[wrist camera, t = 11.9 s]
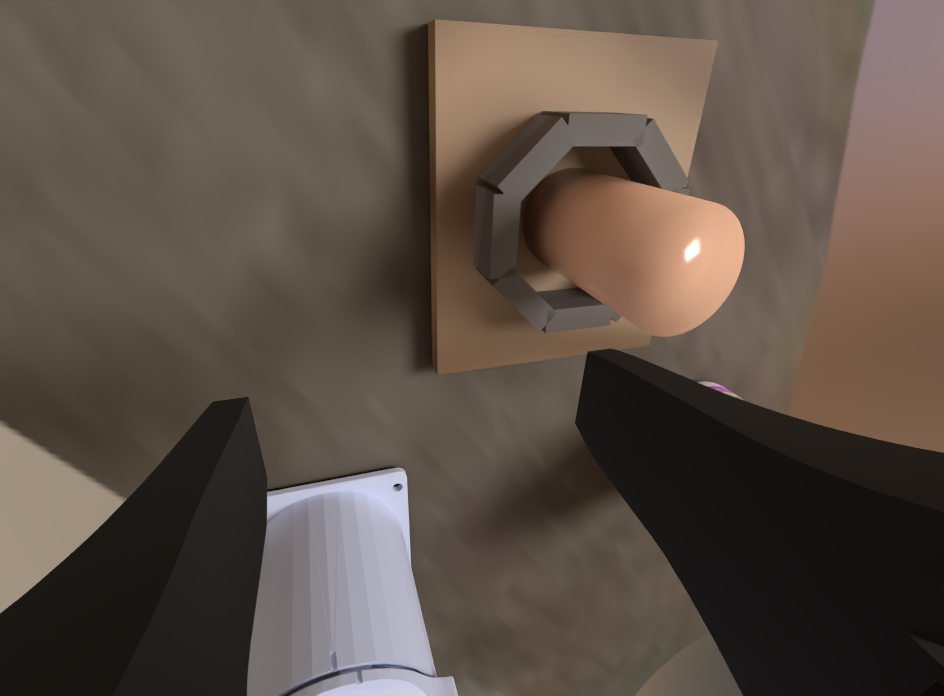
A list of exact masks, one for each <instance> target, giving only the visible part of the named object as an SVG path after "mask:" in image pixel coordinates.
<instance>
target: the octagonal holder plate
mask: <svg viewBox="0 0 944 696" xmlns="http://www.w3.org/2000/svg"><path fill="white" fill-rule="evenodd" d="M717 45H718V41H713V40H700V39H686V38H673V37H660V36H647V35H634V34H620V33H607V32H594V31H581V30H568V29H554V28H541V27H528V26H515V25H502V24H488V23H475V22H462V21H449V20H436V19H435V20H433V21H431V22H429V23H428V71H429V149H430V227H431V305H432V364H433V366H434V368H435V371H436V373H437V375H440V374H447V373H454V372H461V371H468V370H476V369H483V368H490V367H497V366H504V365H512V364H519V363H526V362H533V361H540V360H548V359H555V358H562V357H569V356H577V355H584V354H587V352H588V351H595V350H603V349H610V348H611V349H614V350H620V349H627V348H634V347H641V346H649V344H650V340H651V336H652V335H651V334H648V333H646V332H644V331H643V330H641V329H640V328H638V327H637V326H635V325H634V324H632V323H631V322H629V321H628V320H626V319H625V318H623V317H622V316H621V315H619V314H618V313H616V312H615V311H613V310H612V309H610V308H609V307H607V306H606V305H604V304H603V303H601V302H600V301H598V300H597V299H595V298H594V297H593V296H591V295H590V294H588V293H587V292H585V291H584V290H582V289H581V288H579V287H578V286H576V285H575V284H573V283H572V282H570V281H569V280H568V279H566V278H565V277H563V276H562V275H560V274H559V273H557V272H556V271H554V270H553V269H551V268H550V267H548V266H547V265H545V264H544V263H542V262H541V261H540V260H538V259H537V258H536V257H535V256H534V255H533V254H532V253H531V251H530V250H529V248H528V246H527V243H526V241H525V237H524V230H523V221H524V214H525V210H526V207H527V204H528V202H529V200H530V198H531V196H532V194H533V193H534V191H535V190H536V188H537V187H538V186H539V185H540V184H541V183H542V182H543V181H544V180H545V179H546V178H548V177H549V176H550V175H552V174H554V173H555V172H558V171H560V170H563V169H567V168H583V169H587V170H591V171H595V172H599V173H602V174H606V175H610V176H614V177H618V178H622V179H626V180H629V181H633V182H637V183H641V184H645V185H649V186H652V187H656V188H660V189H664V190H668V191H672V192H675V193H679V194H683V195H687V196H688V195H689V191H690V188H686V187H685V186H686V184H687V183H688V182H689V180H688V178H687V177H688V173H689V168H690V164H691V159H692V155H693V151H694V146H695V142H696V137H697V133H698V129H699V124H700V120H701V115H702V111H703V106H704V102H705V98H706V93H707V89H708V84H709V80H710V76H711V71H712V67H713V62H714V58H715V54H716V49H717Z"/></svg>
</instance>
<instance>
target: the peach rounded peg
mask: <svg viewBox="0 0 944 696" xmlns="http://www.w3.org/2000/svg"><path fill="white" fill-rule="evenodd" d="M523 230H524V237H525V241H526V243H527V246H528V248H529V250H530V251H531V253H532V254H533V255H534V256H535V257H536V258H537V259H538V260H540V261H541V262H542V263H544V264H545V265H547V266H548V267H550V268H551V269H553V270H554V271H556V272H557V273H559V274H560V275H562V276H563V277H565V278H566V279H568V280H569V281H570V282H572V283H573V284H575V285H576V286H578V287H579V288H581V289H582V290H584V291H585V292H587V293H588V294H590V295H591V296H593V297H594V298H595V299H597V300H598V301H600V302H601V303H603V304H604V305H606V306H607V307H609V308H610V309H612V310H613V311H615V312H616V313H618V314H619V315H621V316H622V317H623V318H625V319H626V320H628V321H629V322H631V323H632V324H634V325H635V326H637V327H638V328H640V329H641V330H643V331H644V332H646V333H648V334H651V335H654V336H660V337H668V336H675V335H679V334H682V333H685V332H687V331H689V330H691V329H693V328H695V327H697V326H698V325H700V324H701V323H703V322H704V321H705V320H707V319H708V318H709V317H710V316H711V315H712V314H714V312H715V311H716V310H717V309H718V308H719V307H720V306H721V305H722V303H723V302H724V301H725V300H726V298H727V297H728V295H729V294H730V292H731V290H732V288H733V287H734V285H735V283H736V280H737V278H738V276H739V273H740V270H741V267H742V263H743V258H744V234H743V231H742V227H741V225H740V222H739V220H738V219H737V217H736V216H735V215H734V214H733V213H732V212H731V211H730V210H729V209H728V208H726V207H725V206H723V205H720V204H718V203H714V202H710V201H706V200H702V199H699V198H695V197H691V196H687V195H683V194H679V193H675V192H672V191H668V190H664V189H660V188H656V187H652V186H649V185H645V184H641V183H637V182H633V181H629V180H626V179H622V178H618V177H614V176H610V175H606V174H602V173H599V172H595V171H591V170H587V169H583V168H567V169H563V170H560V171H558V172H555V173H554V174H552V175H550V176H549V177H548V178H546V179H545V180H544V181H543V182H542V183H541V184H540V185H539V186H538V187H537V188H536V190H535V191H534V193H533V194H532V196H531V198H530V200H529V202H528V204H527V207H526V210H525V214H524V221H523Z"/></svg>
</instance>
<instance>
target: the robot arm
mask: <svg viewBox="0 0 944 696" xmlns="http://www.w3.org/2000/svg"><path fill="white" fill-rule="evenodd" d="M575 424H576V426H577V428H578V430H579V431H580V433H581V435H582V437H583V439H584V441H585V443H586V445H587V447H588V448H589V450H590V452H591V454H592V455H593V457H594V459H595V460H596V462H597V463H598V465H599V466H600V467H601V469H602V470H603V471H604V473H605V474H606V476H607V477H608V478H609V480H610V481H611V482H612V484H613V485H614V486H615V488H616V489H617V490H618V492H619V493H620V494H621V496H622V497H623V498H624V500H625V501H626V502H627V504H628V505H629V506H630V508H631V509H632V510H633V512H634V513H635V514H636V516H637V517H638V518H639V520H640V521H641V522H642V524H643V525H644V526H645V528H646V529H647V530H648V532H649V533H650V535H651V536H652V537H653V539H654V540H655V542H656V543H657V544H658V546H659V547H660V549H661V550H662V552H663V553H664V555H665V556H666V558H667V559H668V561H669V563H670V564H671V566H672V568H673V569H674V571H675V573H676V574H677V576H678V578H679V579H680V581H681V583H682V584H683V586H684V588H685V589H686V591H687V593H688V594H689V596H690V598H691V599H692V601H693V603H694V605H695V607H696V608H697V610H698V612H699V614H700V616H701V617H702V619H703V621H704V623H705V624H706V626H707V628H708V630H709V632H710V633H711V635H712V637H713V639H714V640H715V642H716V644H717V646H718V648H719V650H720V652H721V654H722V656H723V658H724V659H725V661H726V663H727V665H728V667H729V669H730V671H731V673H732V675H733V677H734V679H735V681H736V683H737V685H738V687H739V689H740V690H741V692H742V694H743V696H944V453H941V452H936V451H931V450H925V449H920V448H914V447H910V446H905V445H900V444H895V443H891V442H885V441H881V440H877V439H873V438H869V437H865V436H860V435H856V434H852V433H848V432H844V431H840V430H836V429H833V428H829V427H825V426H822V425H818V424H814V423H811V422H807V421H805V420H801V419H798V418H794V417H791V416H788V415H785V414H782V413H778V412H775V411H772V410H769V409H766V408H763V407H761V406H758V405H755V404H752V403H750V402H747V401H744V400H741V399H739V398H736V397H733V396H731V395H728V394H725V393H723V392H720V391H718V390H715V389H713V388H710V387H708V386H705V385H703V384H700V383H698V382H695V381H693V380H691V379H688V378H686V377H683V376H681V375H679V374H676V373H674V372H671V371H669V370H667V369H664V368H662V367H659V366H657V365H655V364H652V363H650V362H647V361H645V360H642V359H640V358H637V357H635V356H632V355H630V354H627V353H624V352H621V351H618V350H614V349H611V348H610V349H603V350H595V351H588V352H587V357H586V363H585V369H584V375H583V380H582V386H581V392H580V398H579V403H578V409H577V415H576V421H575ZM395 484H400V485H398V486H394V485H395ZM0 696H458V694H457V690H456V686H455V682H454V679H453V677H452V676H448V677H437V676H436V671H435V667H434V663H433V659H432V654H431V650H430V646H429V642H428V637H427V633H426V629H425V625H424V620H423V616H422V612H421V608H420V604H419V599H418V595H417V591H416V587H415V582H414V578H413V574H412V570H411V555H410V534H409V513H408V492H407V476H406V473H405V470H403V469H402V468H391V469H386V470H381V471H376V472H370V473H365V474H360V475H355V476H349V477H344V478H339V479H333V480H328V481H323V482H318V483H312V484H307V485H302V486H297V487H291V488H286V489H281V490H276V491H270V492H267V475H266V471H265V466H264V462H263V458H262V454H261V449H260V445H259V441H258V436H257V432H256V428H255V424H254V419H253V415H252V411H251V406H250V402H249V398H248V397H245V398H237V399H230V400H223V401H215V402H212V403H211V404H210V406H209V407H208V408H207V409H206V410H205V411H204V412H203V413H202V415H201V416H200V417H199V418H198V419H197V421H196V422H195V423H194V424H193V425H192V427H191V428H190V429H189V430H188V431H187V433H186V434H185V435H184V436H183V437H182V439H181V440H180V441H179V442H178V443H177V444H176V446H175V447H174V448H173V449H172V450H171V452H170V453H169V454H168V455H167V456H166V457H165V458H164V459H163V461H162V462H161V463H160V464H159V465H158V466H157V467H156V468H155V470H154V471H153V472H152V473H151V474H150V475H149V476H148V478H147V479H146V480H145V481H144V482H143V483H142V484H141V485H140V486H139V487H138V488H137V490H136V491H135V492H134V493H133V494H132V495H131V496H130V497H129V498H128V499H127V500H126V501H125V502H124V503H123V504H122V505H121V506H120V507H119V508H118V509H117V510H116V511H115V512H114V513H113V514H112V515H111V516H110V518H108V519H107V521H106V522H104V523H103V524H102V526H100V527H99V528H98V530H96V531H95V532H94V533H93V534H92V535H91V536H90V537H89V538H88V539H87V540H86V541H85V542H83V543H82V544H81V545H80V546H79V547H78V548H77V549H76V550H75V551H74V552H73V553H71V554H70V555H69V556H68V557H67V558H66V559H65V560H64V561H63V562H61V563H60V564H59V565H58V566H57V567H56V568H55V569H53V570H52V571H51V572H50V573H49V574H48V575H46V576H45V577H44V578H43V579H42V580H41V581H40V582H39V583H37V584H36V585H35V586H34V587H33V588H32V589H30V590H29V591H28V592H27V593H25V594H24V595H23V596H22V597H21V598H19V599H18V600H17V601H16V602H14V603H13V604H12V605H10V606H9V607H8V608H7V609H5V610H4V611H3V612H2V613H0Z"/></svg>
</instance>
